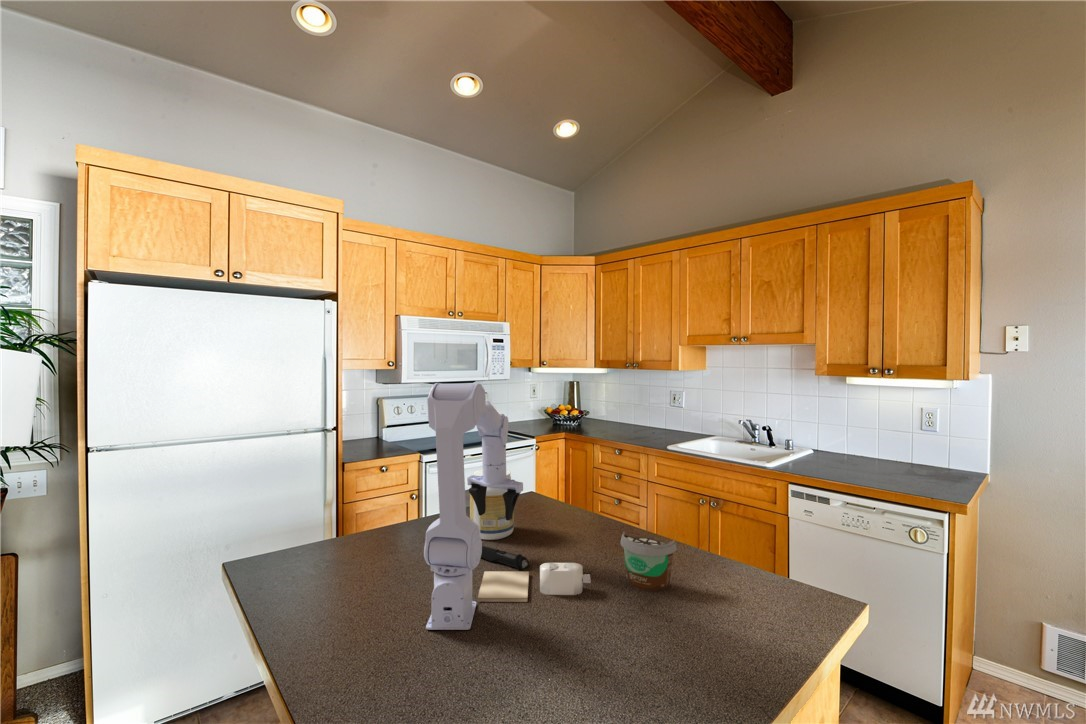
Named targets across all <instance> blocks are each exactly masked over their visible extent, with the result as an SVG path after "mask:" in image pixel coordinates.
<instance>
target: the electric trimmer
mask: <svg viewBox="0 0 1086 724" xmlns="http://www.w3.org/2000/svg"><path fill="white" fill-rule="evenodd" d="M480 559H484V560H487V561H488V562H491V563H500V564H503V565H506V566H509V567H513V568H515V569H517V571H524V572H525V571H526V570H527V569H528V568H530V562H529V560H528V558H527V557H526V556H523V555H522V554H520V553H519V554H515V553H511V552H508V551H504V550H501V549H497V548H493V547H489V546H485V545H482V553H481V558H480Z"/></svg>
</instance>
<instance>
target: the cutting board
mask: <svg viewBox="0 0 1086 724" xmlns="http://www.w3.org/2000/svg"><path fill="white" fill-rule="evenodd" d="M529 577H530V571H525V570H524V571H518V570H517V571H512V570H511V571H509V570H508V571H504V570H503V571H499V570H498V571H493V570H491V571H487V570H485V571H484V572H483V576H482V580H481V584H480V587H479V590H478V595H477V603H481V602H483V603H486V602H488V603H489V602H490V603H491V602H492V603H497V602H498V603H499V602H502V603H505V602H506V603H515V602H516V603H527V602H528V597H529V583H530V578H529Z"/></svg>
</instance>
